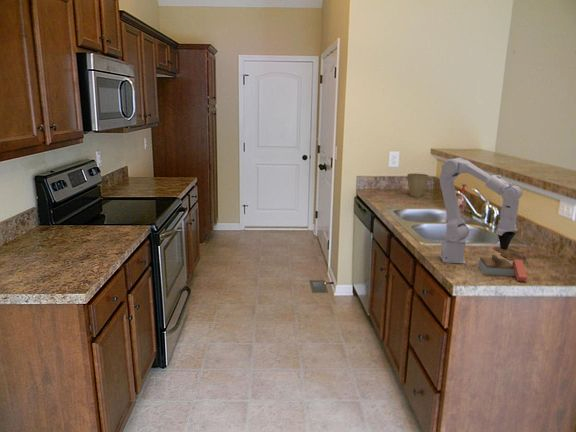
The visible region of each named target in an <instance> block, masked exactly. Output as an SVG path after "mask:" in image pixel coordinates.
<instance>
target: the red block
mask: <svg viewBox="0 0 576 432" xmlns="http://www.w3.org/2000/svg"><path fill="white" fill-rule="evenodd" d="M512 262H513V263H512V265H513V268H514V272H515V275H516V276H515V279H516V281H517V282H526V281H527V280H528V278H529V277H528V275H527V271H526V268H525V265H524V264H523V261H522V260H516V259H514V261H512Z"/></svg>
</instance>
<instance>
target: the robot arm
mask: <svg viewBox="0 0 576 432" xmlns="http://www.w3.org/2000/svg"><path fill="white" fill-rule="evenodd" d="M460 174H469V175H471V176H472V177H474V178H476V179H478V180H479V181H482V182H484V183H485V186H486V188H487V189H489V190H490V191H492V192H494V193H496V194H498V195H499V196H501V198H502V205H501V211H500V218H499V223H498V224H499V225H498V227H497V229H496V234H495V235H496V236H497V237H498V241H499V246H500V249H503V250H507V248H509V246H510V244H511V241H512V239H513V238H514V237H515V235H516V232H518V231H519V228H517V226H518V224H517V218H518V212H519V203H520V198H521V197H522V196H523V190H522V188H521V187H520V186H519V184H518V185H517V184H513V183H512V182H510V181H509V182H508V181H506V180H505V179H504V178H502V175H500V174H497V175H496V174H493V175H490V174H489V173H487V172H486V171H484V170H483V169H481V168H480V167H478V166H476V165H475V164H473V163H472V162H471V161H469V160H467V159H465V158H463V157H456V158H449V159H446V160H445V161H444V162H443V164H442V165H441V172H440V175H439V184H440V189H441V193H442V197H443V203H444V206H445V207H444V208H445V211H446V215H447V223H446V231H445V236H446V238H447V239H443V240H441V245H440V246H441V247H440V254H439V257H440V259H441V260H442V262H443V263H448V264H449V263H450V264H452V263H453V264H467V262H466V259H465V252H466V251H465V250H466V244H467V243H466V242H467V240H466V239H467V237H468V236H469V233H470V229H469V227H468V225H467V224H466V221H465V219H464V218H463V217H462V214H461V210H460V205H459V201H458V197H457V193H456V187H455V184H454V183H455V182H454V181H455V180H456V178H457V177H458V176H459V175H460Z"/></svg>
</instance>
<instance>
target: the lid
mask: <svg viewBox="0 0 576 432" xmlns="http://www.w3.org/2000/svg"><path fill="white" fill-rule="evenodd" d="M479 260H481V261H482V263H483V264H484V265H485V266H486V267H492V268H509V269H513V266H512V265H511V264H510V263H509V262H510V261H509V260H508V259H507V258H499V257H498V256H497V255H495V254H492V255H491V257H480V258H479Z"/></svg>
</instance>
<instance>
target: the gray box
mask: <svg viewBox="0 0 576 432" xmlns="http://www.w3.org/2000/svg"><path fill="white" fill-rule="evenodd" d="M508 262H509V263H510V264H511V265H512V263H513V261H508ZM512 266H513V265H512ZM477 268H478V269H479V270H480V271H481V273H482V274H483V275H485V276H486V275H487V276H499V277H500V276H501V277H516V275H515V272H514V268H513V269H509V268H492V267H486V266H485V265H484V264H483V263H482V261H481V260H480V259H478V262H477Z"/></svg>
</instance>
